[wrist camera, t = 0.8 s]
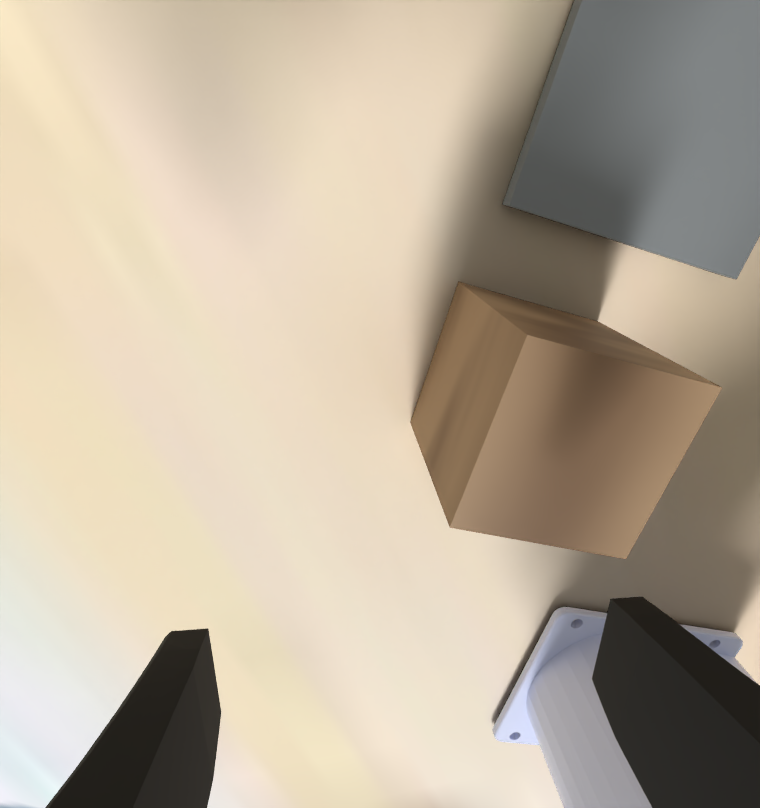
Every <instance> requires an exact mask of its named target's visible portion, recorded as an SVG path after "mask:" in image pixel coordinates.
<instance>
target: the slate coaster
mask: <svg viewBox="0 0 760 808" xmlns="http://www.w3.org/2000/svg"><path fill="white" fill-rule="evenodd" d="M503 205H506V206H509V207H512V208H515V209H518V210H521V211H524V212H527V213H530V214H534V215H537V216H540V217H543V218H546V219H549V220H552V221H555V222H558V223H561V224H564V225H568V226H571V227H574V228H577V229H580V230H583V231H586V232H589V233H592V234H595V235H598V236H602V237H605V238H608V239H611V240H614V241H617V242H620V243H623V244H626V245H629V246H632V247H635V248H639V249H642V250H645V251H648V252H651V253H654V254H657V255H660V256H663V257H666V258H669V259H673V260H676V261H679V262H682V263H685V264H688V265H691V266H694V267H697V268H700V269H703V270H706V271H710V272H713V273H716V274H719V275H722V276H725V277H729V278H733V279H737V278H738V276H739V274H740V272H741V270H742V268H743V266H744V264H745V262H746V261H747V259H748V257H749V255H750V253H751V251H752V249H753V247H754V246H755V244H756V242H757V240H758V238H759V236H760V0H574V2H573V5H572V8H571V11H570V13H569V16H568V19H567V22H566V25H565V28H564V30H563V33H562V36H561V39H560V42H559V45H558V48H557V50H556V53H555V56H554V59H553V62H552V65H551V67H550V70H549V73H548V76H547V79H546V82H545V84H544V87H543V90H542V93H541V96H540V99H539V102H538V104H537V107H536V110H535V113H534V116H533V119H532V121H531V124H530V127H529V130H528V133H527V136H526V138H525V141H524V144H523V147H522V150H521V153H520V156H519V158H518V161H517V164H516V167H515V170H514V173H513V175H512V178H511V181H510V184H509V187H508V190H507V192H506V195H505V198H504V201H503Z"/></svg>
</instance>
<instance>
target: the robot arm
mask: <svg viewBox="0 0 760 808" xmlns="http://www.w3.org/2000/svg"><path fill="white" fill-rule="evenodd" d="M742 645H743V641H742V640H741V638H740V637H739V636H738V635H737V634H736V633H733V632H727V631H720V630H714V629H707V628H701V627H694V626H688V625H681V624H678V623H677V622H676V621H674V620H673V619H672V618H670V617H669V616H668V615H666V614H665V613H664V612H662V611H661V610H660V609H658V608H657V607H656V606H654V605H653V604H652V603H650V602H649V601H647V600H646V599H645V598H643V597H630V598H617V599H610V604H609V608H608V612H607V613H604V612H597V611H591V610H584V609H578V608H571V607H561V608H558V609H557V610H555V611H554V613H553V614H552V616H551V618H550V620H549V621H548V623H547V625H546V627H545V629H544V631H543V633H542V635H541V637H540V639H539V641H538V642H537V644H536V646H535V648H534V650H533V652H532V654H531V656H530V658H529V660H528V662H527V663H526V665H525V667H524V669H523V671H522V673H521V675H520V677H519V679H518V681H517V683H516V684H515V686H514V688H513V690H512V692H511V694H510V696H509V698H508V700H507V702H506V704H505V705H504V707H503V709H502V711H501V713H500V715H499V717H498V719H497V721H496V723H495V725H494V726H493V733H494V736H495V739H496V740H498V741H501V742H510V743H521V744H532V745H540V748H541V750H542V753H543V755H544V758H545V760H546V763H547V766H548V768H549V771H550V773H551V776H552V778H553V781H554V784H555V786H556V789H557V791H558V794H559V796H560V799H561V801H562V804H563V807H564V808H760V685H758V684H757V683H756V682H755V681H754V679H753V678H752V677H751V676H750V675H749V674H748V672H747V671H746V670H745V669H744V668H743V667H742V666H741V664H740V663H739V662H738V661H737V660H736V659H735V656H736V654H737V653H738V652H739V650H740V649H741V647H742ZM220 717H221V708H220V702H219V695H218V689H217V682H216V676H215V669H214V663H213V656H212V650H211V643H210V637H209V631H208V629H197V630H183V631H171V632H170V633H169V634H168V635H167V636H166V637H165V638H164V640H163V642H162V643H161V645H160V646H159V648H158V650H157V651H156V653H155V654H154V656H153V657H152V659H151V661H150V662H149V664H148V665H147V667H146V668H145V670H144V671H143V673H142V675H141V676H140V678H139V679H138V681H137V682H136V684H135V685H134V687H133V688H132V690H131V691H130V693H129V694H128V695H127V697H126V698H125V700H124V701H123V703H122V704H121V706H120V707H119V709H118V710H117V712H116V713H115V715H114V716H113V717H112V719H111V720H110V722H109V723H108V724H107V726H106V727H105V729H104V730H103V731H102V733H101V734H100V736H99V737H98V738H97V740H96V741H95V743H94V744H93V745H92V747H91V748H90V750H89V751H88V752H87V754H86V755H85V757H84V758H83V759H82V761H81V762H80V763H79V765H78V766H77V767H76V769H75V770H74V771H73V773H72V774H71V775H70V777H69V778H68V779H67V781H66V782H65V783H64V785H63V786H62V787H61V788H60V790H59V791H58V792H57V794H56V795H55V796H54V797H53V799H52V800H51V801H50V803H49V804H48V805H47V806H46V808H207V805H208V800H209V796H210V791H211V786H212V781H213V775H214V767H215V759H216V752H217V743H218V735H219V726H220Z"/></svg>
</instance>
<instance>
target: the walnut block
mask: <svg viewBox="0 0 760 808" xmlns="http://www.w3.org/2000/svg"><path fill="white" fill-rule="evenodd" d="M721 389H722V387H720V386H718V385H716V384H714V383H712V382H711V381H709V380H707V379H705V378H703V377H701V376H699V375H697V374H696V373H694V372H692V371H690V370H688V369H686V368H684V367H682V366H681V365H679V364H677V363H675V362H673V361H671V360H669V359H667V358H665V357H664V356H662V355H660V354H658V353H656V352H654V351H652V350H650V349H649V348H647V347H645V346H643V345H641V344H639V343H637V342H635V341H634V340H632V339H630V338H628V337H626V336H624V335H622V334H620V333H618V332H617V331H615V330H613V329H611V328H609V327H607V326H605V325H603V324H602V323H600V322H598V321H594V320H591V319H587V318H584V317H580V316H577V315H573V314H570V313H566V312H563V311H559V310H556V309H552V308H549V307H545V306H542V305H538V304H535V303H531V302H528V301H524V300H521V299H517V298H514V297H510V296H507V295H503V294H500V293H496V292H493V291H489V290H486V289H482V288H479V287H475V286H472V285H468V284H465V283H461V282H458V284H457V287H456V290H455V293H454V296H453V299H452V302H451V305H450V308H449V311H448V314H447V317H446V320H445V323H444V325H443V328H442V331H441V334H440V337H439V340H438V343H437V346H436V349H435V352H434V355H433V358H432V361H431V364H430V367H429V369H428V372H427V375H426V378H425V381H424V384H423V387H422V390H421V393H420V396H419V399H418V402H417V405H416V408H415V411H414V414H413V416H412V419H411V422H410V423H411V426H412V428H413V431H414V434H415V436H416V439H417V441H418V444H419V447H420V449H421V452H422V455H423V457H424V460H425V463H426V465H427V468H428V471H429V473H430V476H431V479H432V481H433V484H434V487H435V489H436V492H437V495H438V497H439V500H440V502H441V505H442V508H443V510H444V513H445V516H446V518H447V521H448V524H449V526H450V528H456V529H461V530H467V531H472V532H478V533H483V534H489V535H495V536H500V537H506V538H511V539H517V540H522V541H528V542H533V543H539V544H544V545H550V546H555V547H561V548H567V549H572V550H578V551H583V552H589V553H594V554H600V555H605V556H611V557H616V558H622V559H626V558H627V556H628V555H629V553H630V551H631V549H632V547H633V546H634V544H635V542H636V540H637V539H638V537H639V535H640V533H641V531H642V530H643V528H644V526H645V524H646V523H647V521H648V519H649V517H650V515H651V514H652V512H653V510H654V508H655V506H656V505H657V503H658V501H659V499H660V498H661V496H662V494H663V492H664V490H665V489H666V487H667V485H668V483H669V482H670V480H671V478H672V476H673V474H674V473H675V471H676V469H677V467H678V466H679V464H680V462H681V460H682V458H683V457H684V455H685V453H686V451H687V449H688V448H689V446H690V444H691V442H692V441H693V439H694V437H695V435H696V433H697V432H698V430H699V428H700V426H701V425H702V423H703V421H704V419H705V417H706V416H707V414H708V412H709V410H710V409H711V407H712V405H713V403H714V401H715V400H716V398H717V396H718V394H719V392H720V391H721Z"/></svg>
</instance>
